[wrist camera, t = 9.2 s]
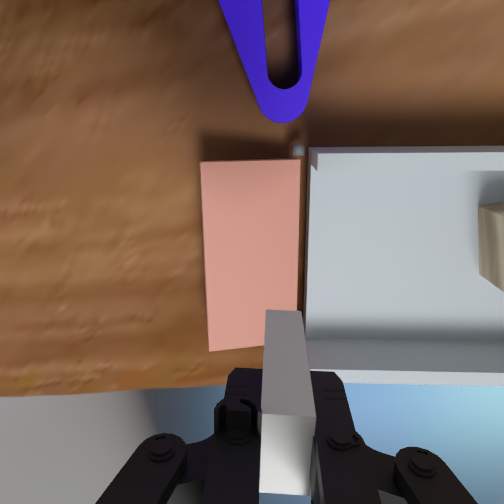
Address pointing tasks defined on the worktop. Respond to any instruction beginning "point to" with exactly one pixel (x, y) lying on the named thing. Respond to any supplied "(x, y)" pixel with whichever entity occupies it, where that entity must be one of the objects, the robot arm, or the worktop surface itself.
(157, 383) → the worktop surface
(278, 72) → the worktop surface
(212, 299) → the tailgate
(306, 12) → the bracket
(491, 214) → the beige block
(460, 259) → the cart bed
